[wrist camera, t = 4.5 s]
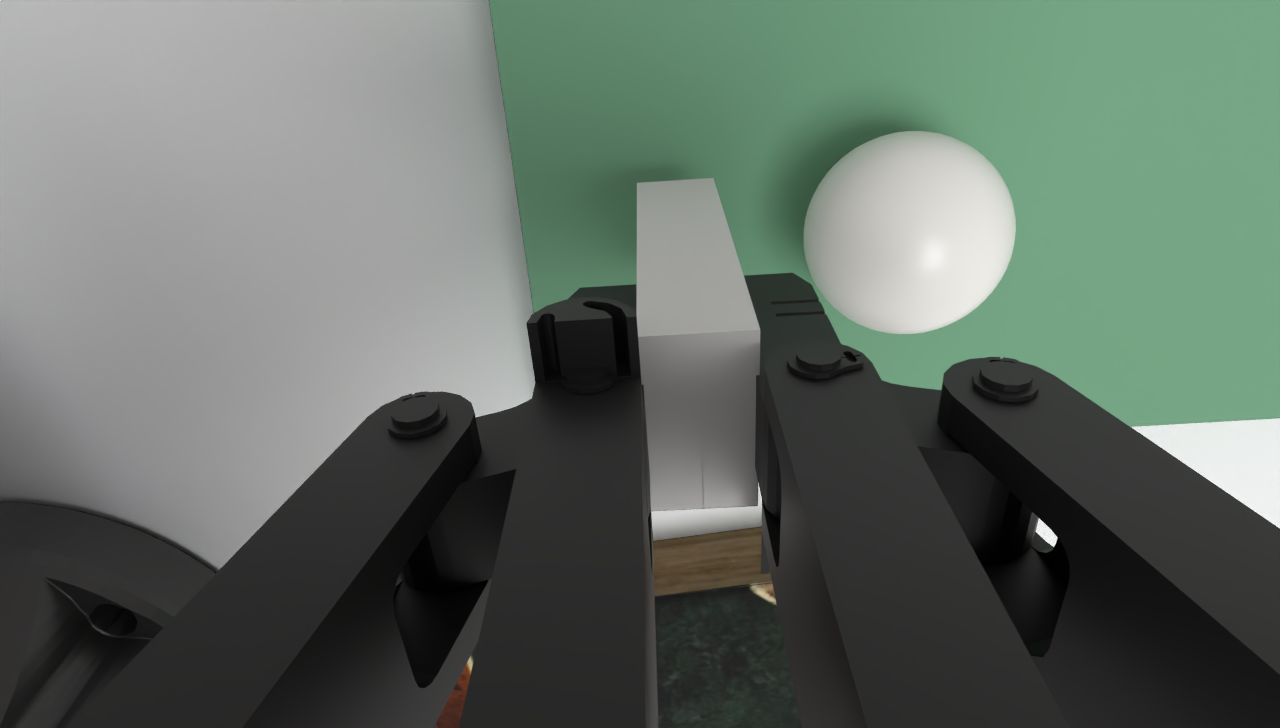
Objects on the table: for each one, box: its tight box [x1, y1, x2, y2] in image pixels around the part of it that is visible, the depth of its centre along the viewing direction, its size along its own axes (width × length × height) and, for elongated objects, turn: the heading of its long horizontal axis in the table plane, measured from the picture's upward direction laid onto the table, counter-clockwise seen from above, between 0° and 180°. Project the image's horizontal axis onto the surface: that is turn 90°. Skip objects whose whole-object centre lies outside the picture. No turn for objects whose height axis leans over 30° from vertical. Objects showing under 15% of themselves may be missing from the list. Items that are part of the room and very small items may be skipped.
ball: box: [804, 131, 1016, 334], centre depth 15 cm, size 4×4×4 cm
